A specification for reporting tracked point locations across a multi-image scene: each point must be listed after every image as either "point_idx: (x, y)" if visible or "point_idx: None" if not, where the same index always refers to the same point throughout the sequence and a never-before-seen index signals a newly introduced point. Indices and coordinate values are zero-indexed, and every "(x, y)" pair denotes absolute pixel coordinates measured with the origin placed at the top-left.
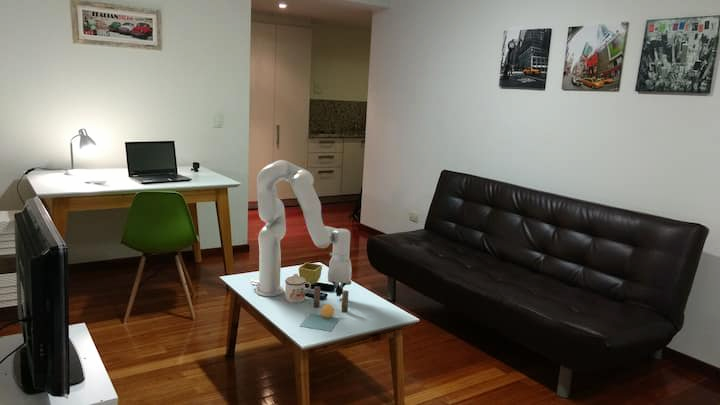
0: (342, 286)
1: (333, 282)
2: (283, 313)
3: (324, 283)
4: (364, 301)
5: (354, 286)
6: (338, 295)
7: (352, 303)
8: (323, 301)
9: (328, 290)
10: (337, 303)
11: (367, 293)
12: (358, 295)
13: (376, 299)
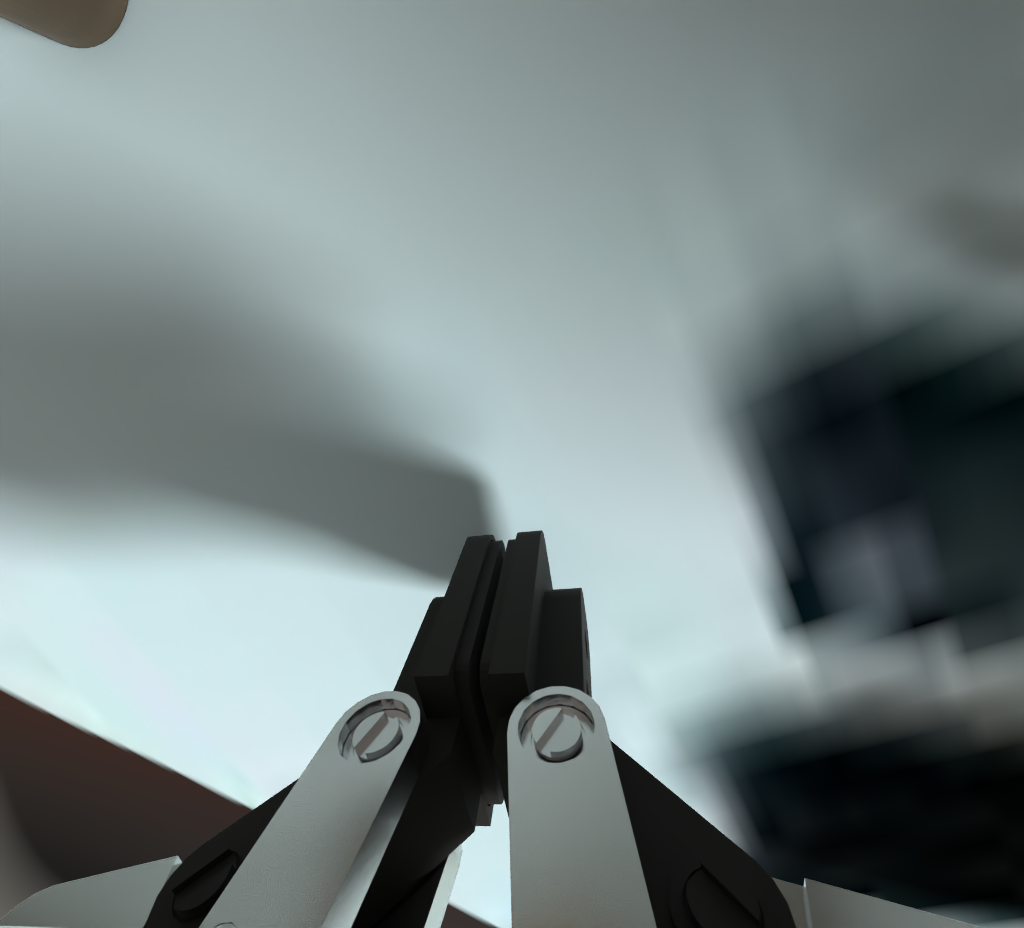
0: (317, 754)
1: (713, 902)
2: None
3: None
4: (146, 604)
5: None
6: (497, 545)
7: (222, 460)
8: (756, 265)
9: (815, 754)
10: (434, 324)
11: None
12: None
13: (89, 710)
